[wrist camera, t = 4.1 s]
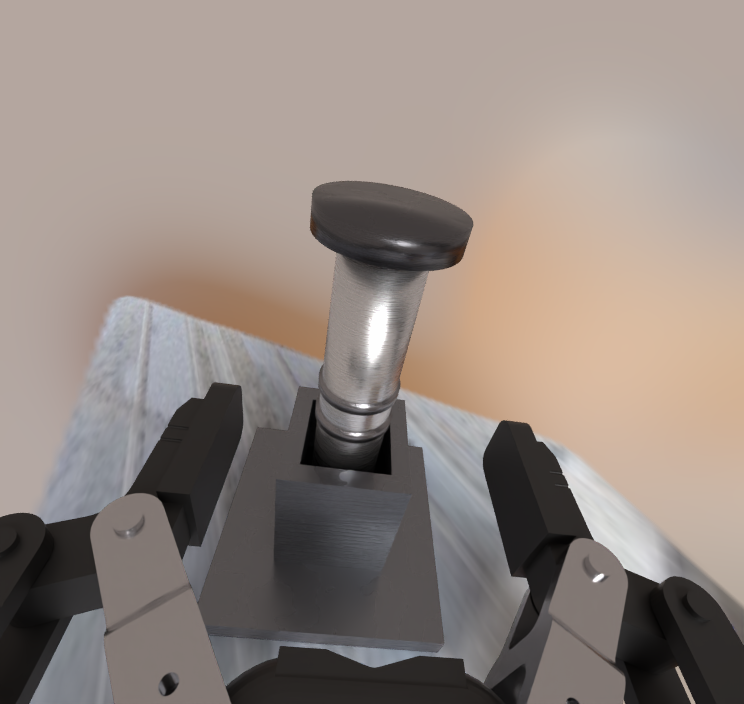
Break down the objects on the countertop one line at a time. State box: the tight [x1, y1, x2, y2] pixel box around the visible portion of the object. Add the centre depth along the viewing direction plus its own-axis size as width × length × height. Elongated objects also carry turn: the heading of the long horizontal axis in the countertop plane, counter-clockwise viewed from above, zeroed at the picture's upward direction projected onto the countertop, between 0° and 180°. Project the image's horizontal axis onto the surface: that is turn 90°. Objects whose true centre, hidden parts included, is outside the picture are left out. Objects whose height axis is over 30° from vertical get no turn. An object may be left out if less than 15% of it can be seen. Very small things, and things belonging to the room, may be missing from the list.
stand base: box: [198, 386, 444, 653], centre depth 25 cm, size 14×14×10 cm
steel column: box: [310, 181, 473, 473], centre depth 20 cm, size 6×6×21 cm
